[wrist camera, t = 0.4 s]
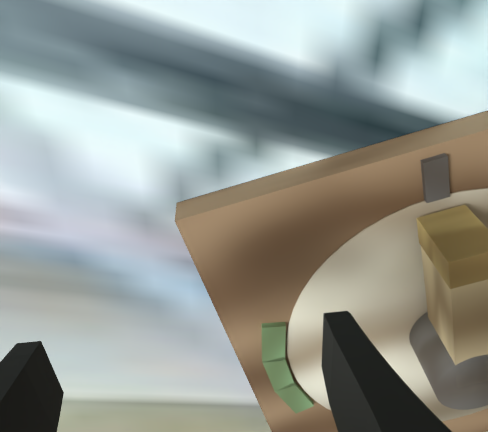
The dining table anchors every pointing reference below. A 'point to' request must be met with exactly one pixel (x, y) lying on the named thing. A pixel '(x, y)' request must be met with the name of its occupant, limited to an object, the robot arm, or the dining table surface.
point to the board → (334, 262)
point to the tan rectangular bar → (454, 307)
